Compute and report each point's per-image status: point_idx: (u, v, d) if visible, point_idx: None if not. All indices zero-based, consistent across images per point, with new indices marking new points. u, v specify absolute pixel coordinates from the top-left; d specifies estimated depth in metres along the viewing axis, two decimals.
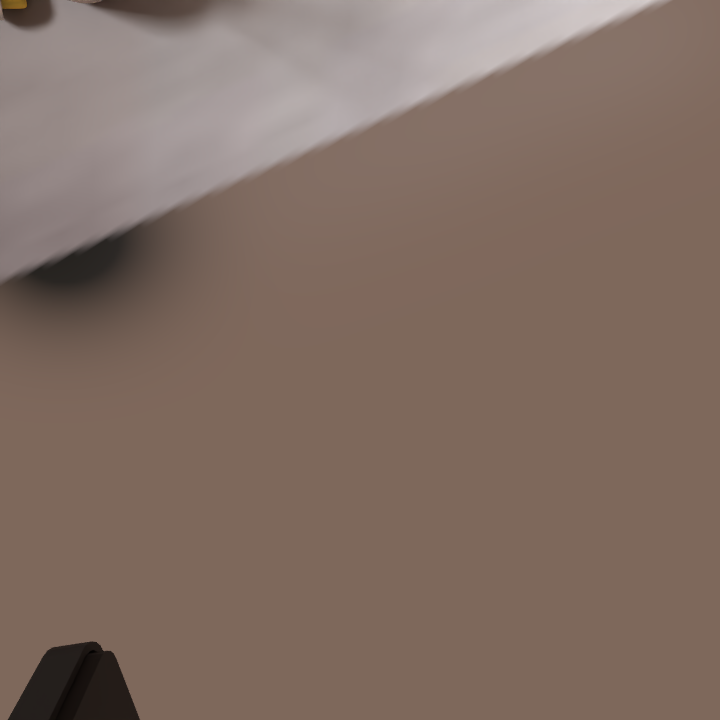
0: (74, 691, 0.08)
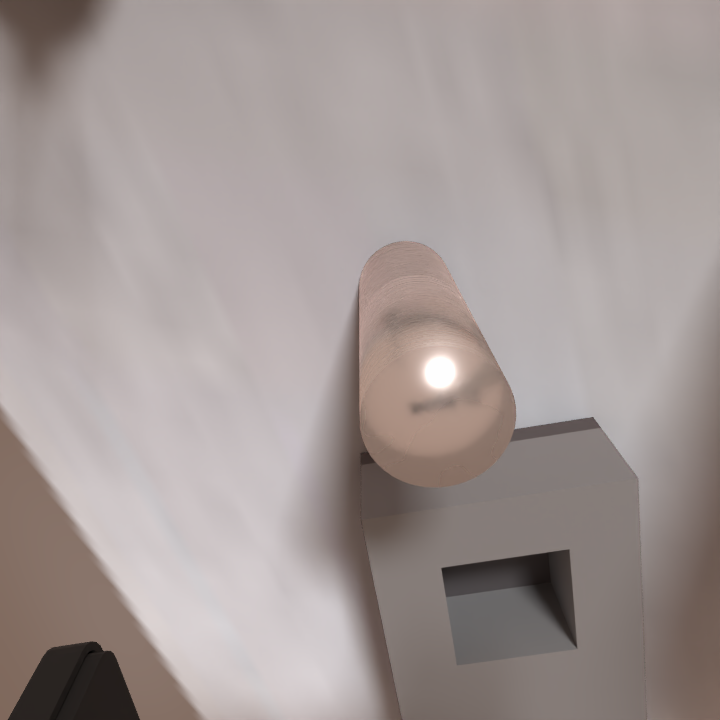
0: (74, 691, 0.08)
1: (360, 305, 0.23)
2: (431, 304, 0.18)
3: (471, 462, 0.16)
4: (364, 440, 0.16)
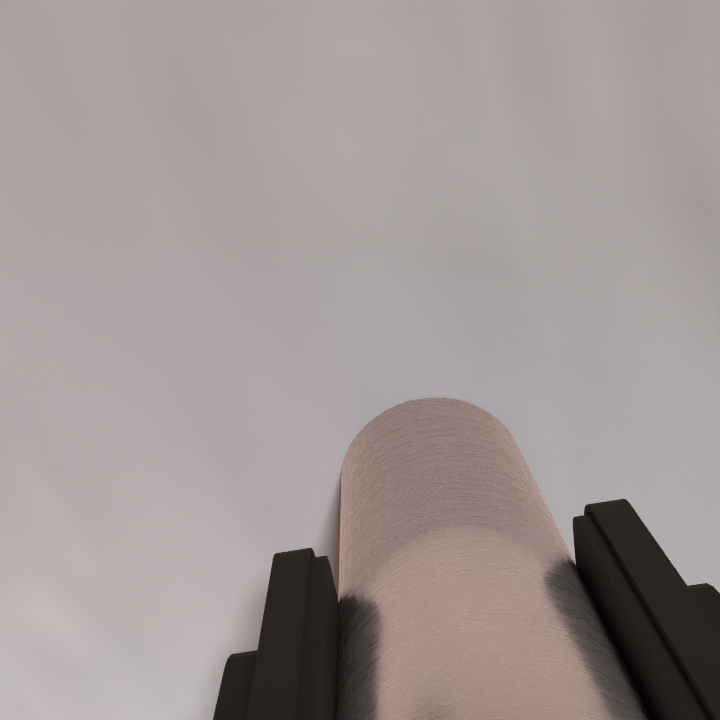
0: (313, 584, 0.09)
1: (340, 603, 0.10)
2: None
3: None
4: None
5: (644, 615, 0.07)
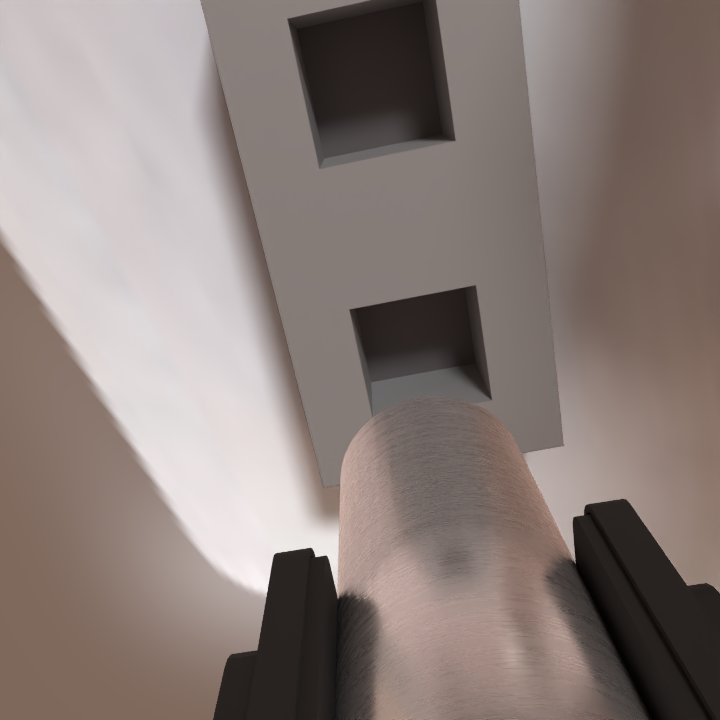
0: (314, 584, 0.09)
1: (339, 602, 0.10)
2: None
3: None
4: None
5: (644, 615, 0.07)
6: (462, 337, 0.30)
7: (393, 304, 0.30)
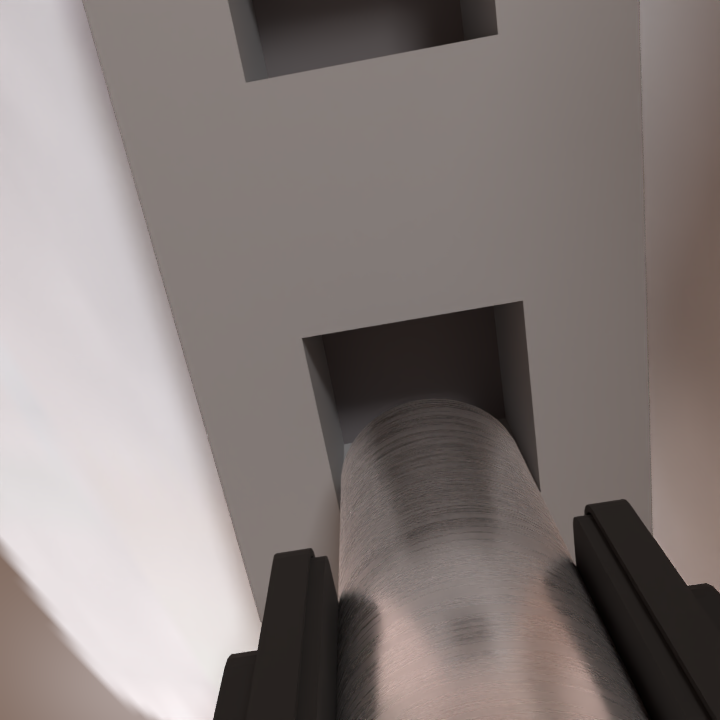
0: (313, 584, 0.09)
1: (340, 604, 0.10)
2: None
3: None
4: None
5: (644, 615, 0.07)
6: (486, 379, 0.20)
7: (380, 326, 0.19)
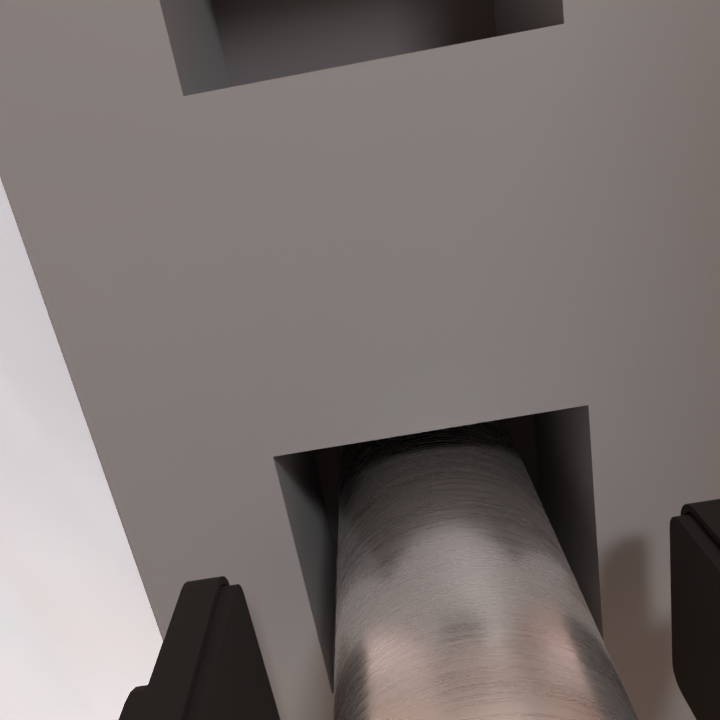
0: (218, 616, 0.09)
1: (339, 548, 0.11)
2: None
3: None
4: None
5: None
6: None
7: None
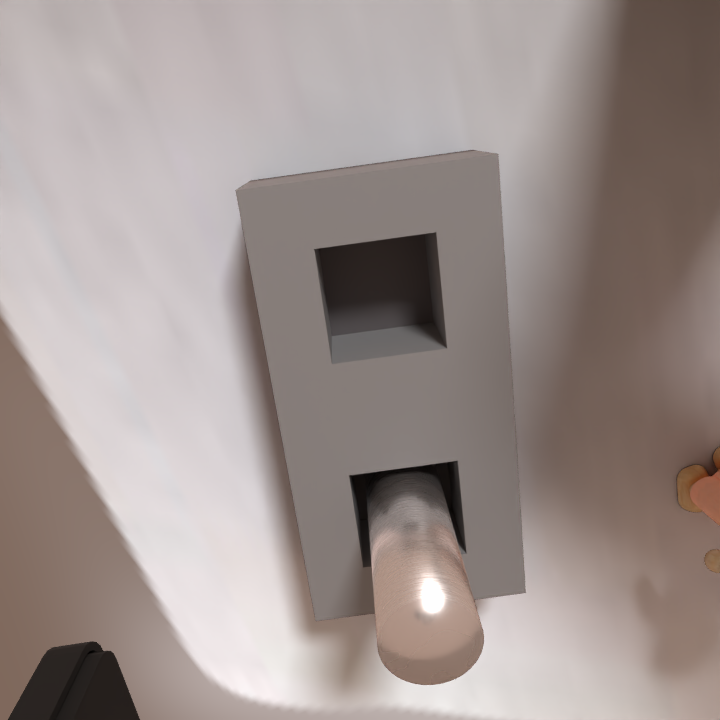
0: (74, 691, 0.08)
1: (369, 506, 0.30)
2: (426, 540, 0.26)
3: (452, 669, 0.23)
4: (380, 654, 0.23)
5: None
6: None
7: None
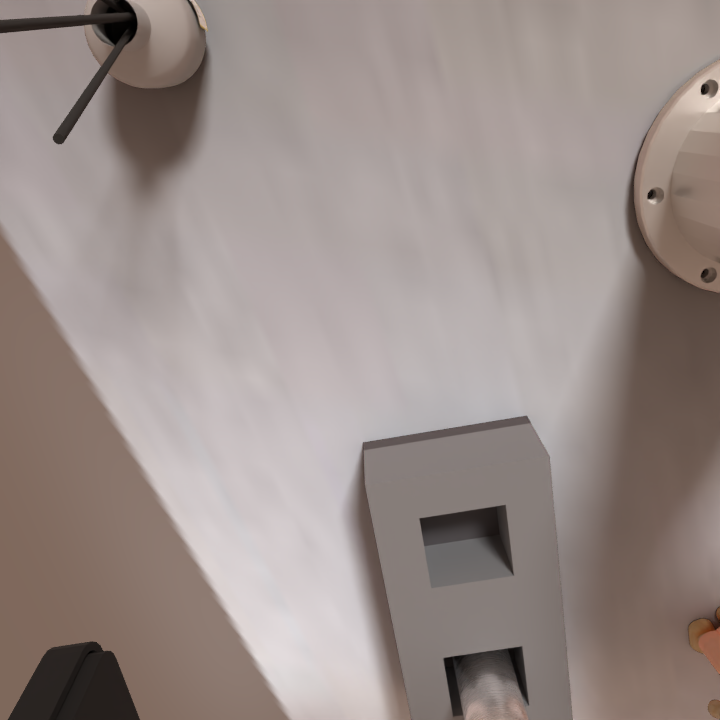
0: (74, 691, 0.08)
1: (458, 678, 0.42)
2: None
3: None
4: None
5: None
6: None
7: None
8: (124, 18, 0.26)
